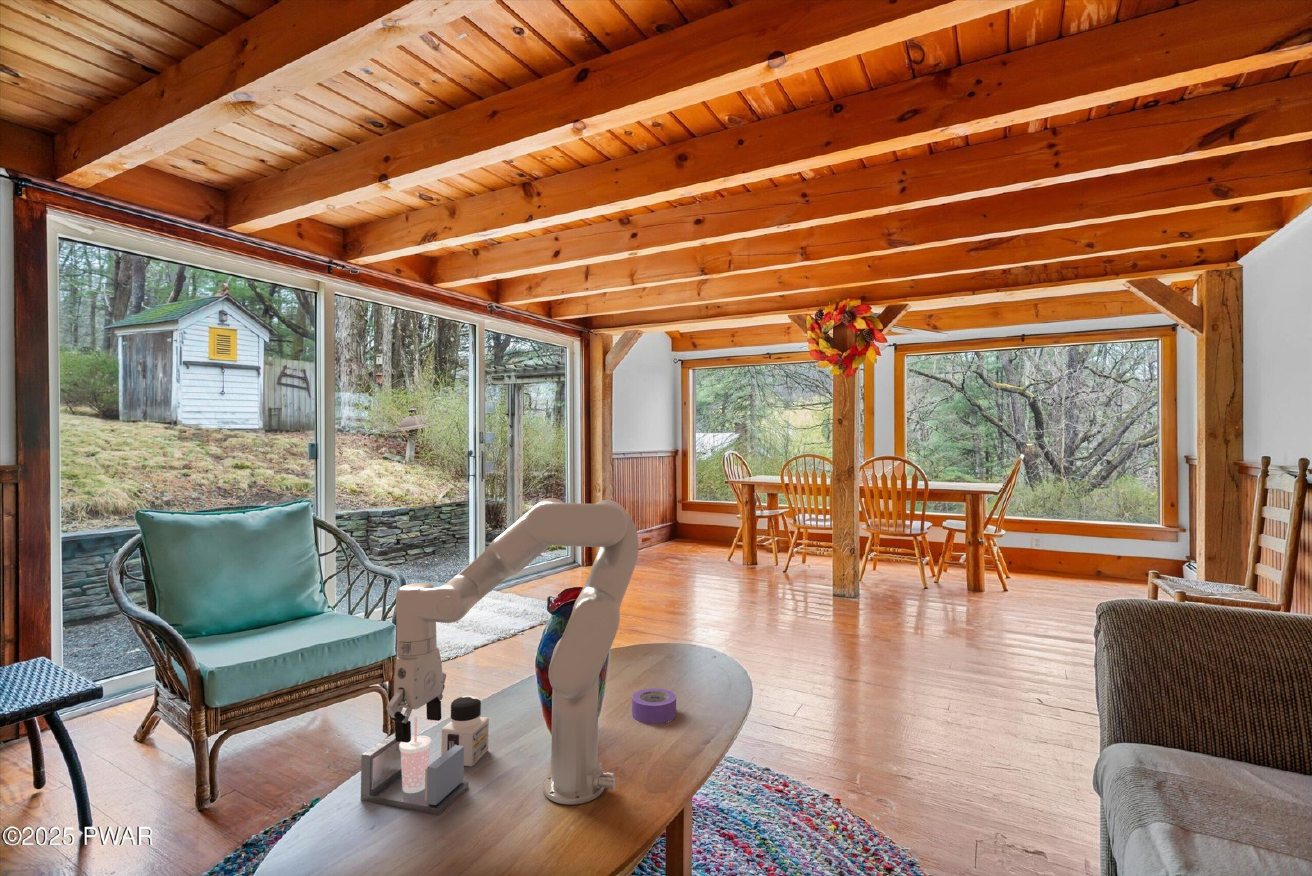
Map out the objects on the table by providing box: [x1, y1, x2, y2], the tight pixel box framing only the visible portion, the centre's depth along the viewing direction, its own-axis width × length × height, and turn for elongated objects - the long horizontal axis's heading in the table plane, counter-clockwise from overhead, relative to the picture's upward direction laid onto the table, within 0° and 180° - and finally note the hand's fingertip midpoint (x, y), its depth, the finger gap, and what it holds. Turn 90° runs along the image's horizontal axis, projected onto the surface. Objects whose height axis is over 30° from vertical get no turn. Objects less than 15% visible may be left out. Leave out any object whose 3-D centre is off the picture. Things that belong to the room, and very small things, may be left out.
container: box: [440, 695, 490, 767], centre depth 139 cm, size 8×8×13 cm
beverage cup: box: [399, 716, 432, 793], centre depth 124 cm, size 6×6×14 cm
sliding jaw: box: [425, 745, 465, 805], centre depth 122 cm, size 2×9×7 cm, turn 164°
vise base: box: [360, 732, 470, 816], centre depth 124 cm, size 18×10×9 cm, turn 74°
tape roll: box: [631, 687, 677, 726], centre depth 162 cm, size 12×12×5 cm
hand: (419, 730), depth 124 cm, fingers open, 9 cm apart
